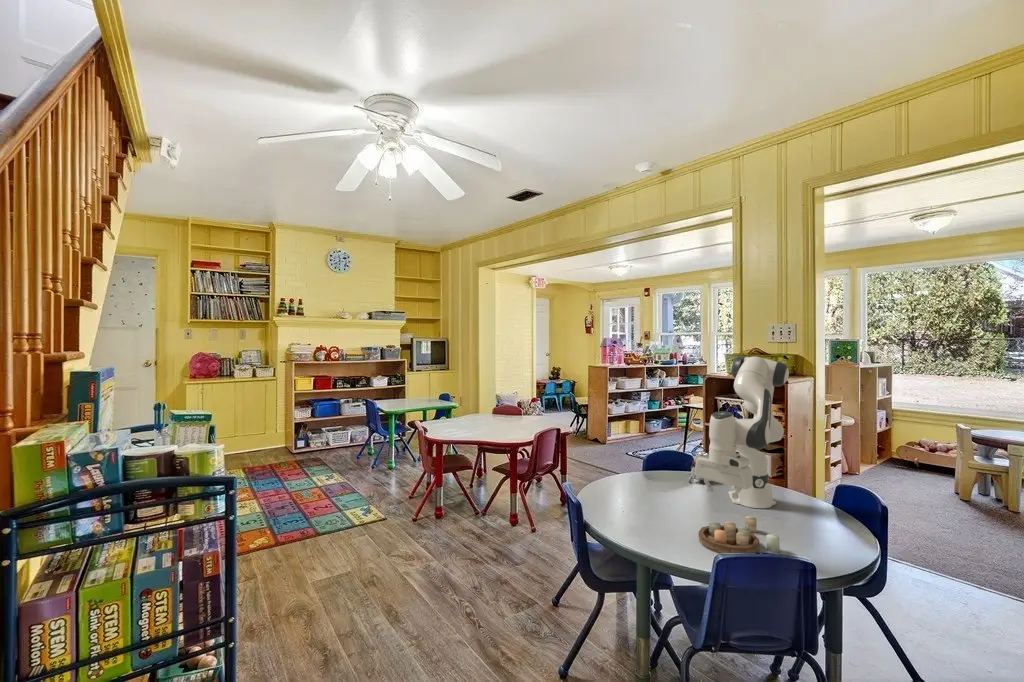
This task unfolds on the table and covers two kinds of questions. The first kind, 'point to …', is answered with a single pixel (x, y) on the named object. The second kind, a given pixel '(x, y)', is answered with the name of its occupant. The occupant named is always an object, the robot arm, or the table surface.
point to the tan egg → (750, 524)
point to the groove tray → (729, 538)
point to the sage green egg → (773, 543)
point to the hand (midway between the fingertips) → (722, 494)
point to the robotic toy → (694, 468)
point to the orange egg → (720, 536)
